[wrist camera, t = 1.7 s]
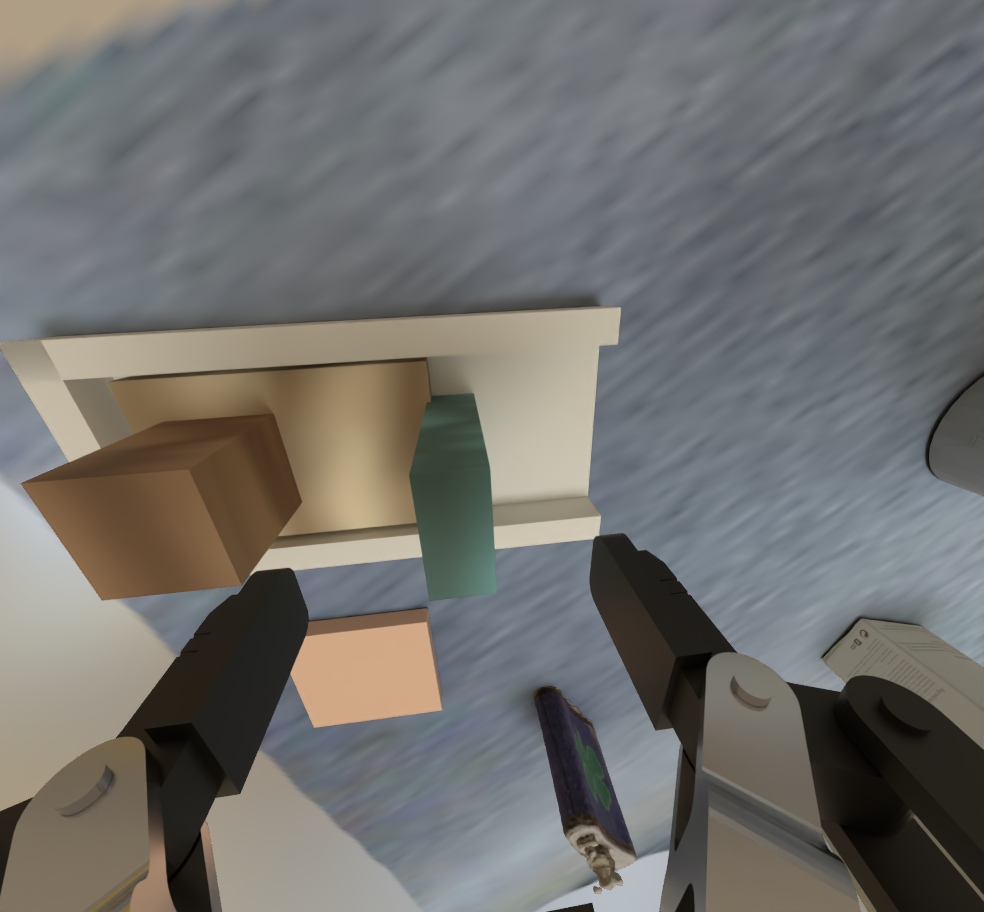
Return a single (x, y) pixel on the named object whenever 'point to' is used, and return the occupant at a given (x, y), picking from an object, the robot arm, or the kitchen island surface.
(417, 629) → the plate
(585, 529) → the cream tray
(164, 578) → the block
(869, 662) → the skincare box
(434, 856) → the kitchen island surface
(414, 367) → the l-shaped stand
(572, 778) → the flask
